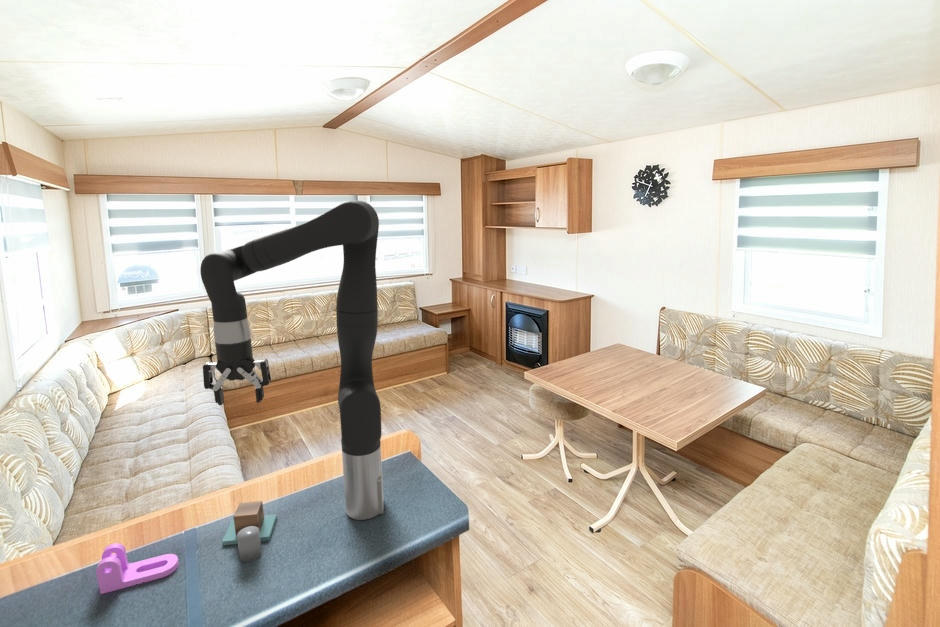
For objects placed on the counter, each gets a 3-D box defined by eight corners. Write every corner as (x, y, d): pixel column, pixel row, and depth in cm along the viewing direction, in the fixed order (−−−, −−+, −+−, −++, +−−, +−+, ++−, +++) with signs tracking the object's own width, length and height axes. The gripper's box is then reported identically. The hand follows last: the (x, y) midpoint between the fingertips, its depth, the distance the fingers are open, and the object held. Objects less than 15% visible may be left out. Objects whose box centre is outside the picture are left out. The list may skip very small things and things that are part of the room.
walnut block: (259, 533, 110) (256, 514, 109) (235, 535, 110) (233, 516, 108) (264, 519, 115) (262, 500, 114) (242, 521, 114) (239, 503, 113)
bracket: (100, 594, 95) (94, 564, 93) (108, 575, 100) (102, 546, 98) (177, 574, 100) (172, 545, 98) (180, 556, 105) (175, 528, 103)
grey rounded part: (263, 546, 108) (261, 525, 106) (259, 560, 104) (256, 538, 102) (242, 548, 107) (240, 527, 106) (237, 563, 103) (234, 541, 101)
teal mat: (276, 517, 117) (276, 514, 117) (269, 540, 110) (269, 536, 109) (233, 522, 116) (232, 518, 115) (222, 545, 108) (221, 541, 108)
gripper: (193, 344, 107) (202, 411, 110) (261, 341, 109) (268, 407, 113) (205, 334, 114) (214, 398, 118) (269, 332, 116) (275, 394, 120)
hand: (240, 402), depth 115 cm, fingers open, 8 cm apart
